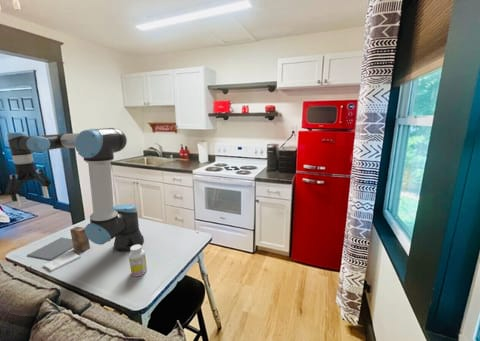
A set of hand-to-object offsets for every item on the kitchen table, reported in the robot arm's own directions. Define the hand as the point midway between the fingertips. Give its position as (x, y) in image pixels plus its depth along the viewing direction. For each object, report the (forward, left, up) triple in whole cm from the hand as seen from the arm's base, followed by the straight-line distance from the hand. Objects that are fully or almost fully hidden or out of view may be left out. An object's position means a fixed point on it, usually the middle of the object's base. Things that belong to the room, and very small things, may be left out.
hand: (33, 202), depth 122 cm
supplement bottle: (-67, +6, -26) cm, 72 cm away
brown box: (-24, -3, -26) cm, 35 cm away
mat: (-10, 0, -26) cm, 28 cm away
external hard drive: (-24, +9, -27) cm, 37 cm away
